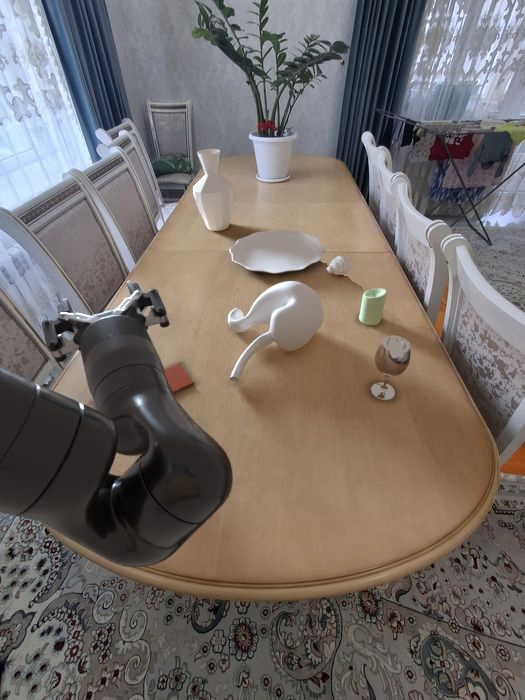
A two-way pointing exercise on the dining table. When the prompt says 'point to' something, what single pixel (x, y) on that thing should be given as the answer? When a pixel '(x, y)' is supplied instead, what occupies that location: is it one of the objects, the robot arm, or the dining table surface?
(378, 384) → the wineglass
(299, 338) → the stomach
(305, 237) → the plate
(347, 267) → the garlic bulb
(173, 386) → the rectangular block
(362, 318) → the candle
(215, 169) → the vase
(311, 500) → the dining table surface
